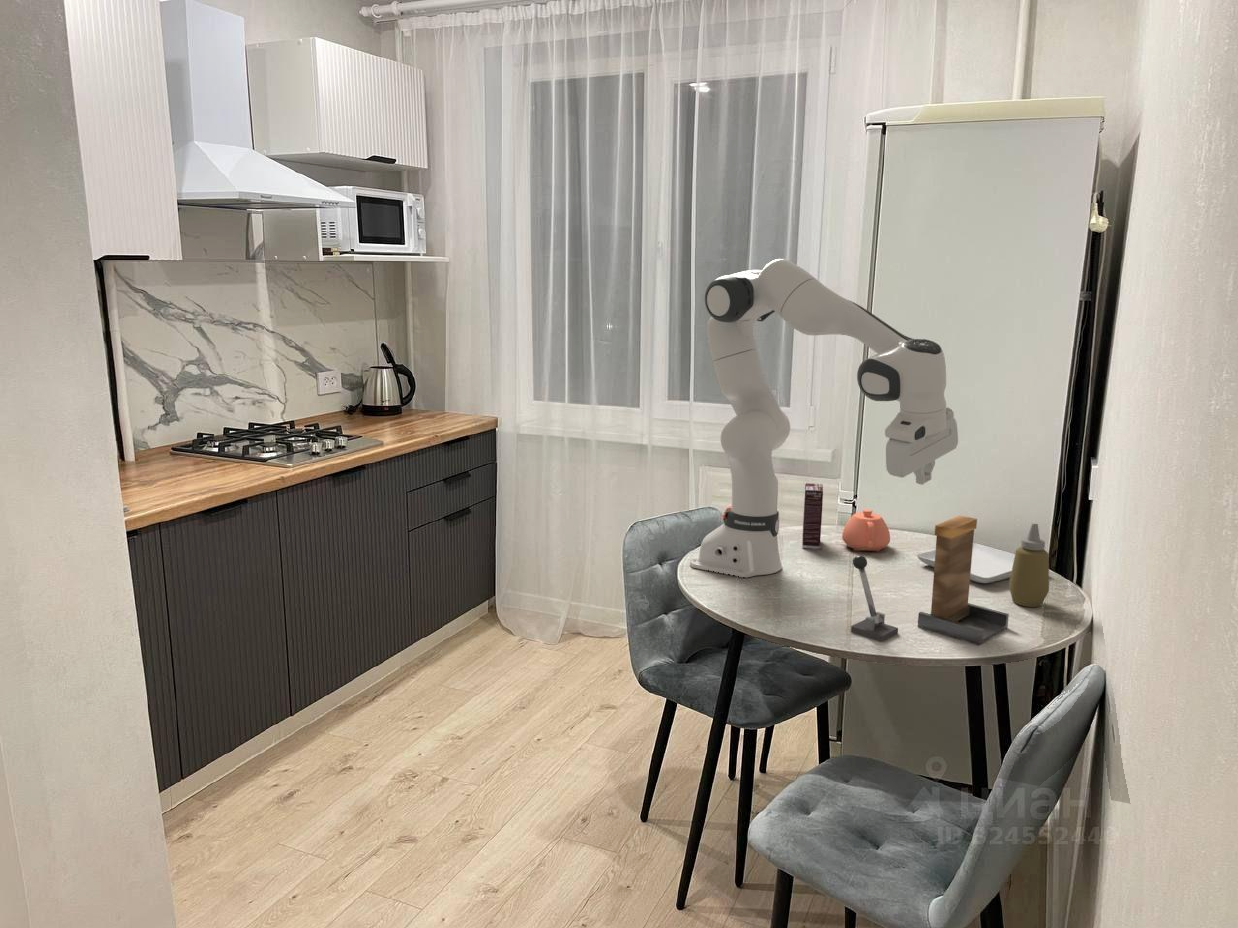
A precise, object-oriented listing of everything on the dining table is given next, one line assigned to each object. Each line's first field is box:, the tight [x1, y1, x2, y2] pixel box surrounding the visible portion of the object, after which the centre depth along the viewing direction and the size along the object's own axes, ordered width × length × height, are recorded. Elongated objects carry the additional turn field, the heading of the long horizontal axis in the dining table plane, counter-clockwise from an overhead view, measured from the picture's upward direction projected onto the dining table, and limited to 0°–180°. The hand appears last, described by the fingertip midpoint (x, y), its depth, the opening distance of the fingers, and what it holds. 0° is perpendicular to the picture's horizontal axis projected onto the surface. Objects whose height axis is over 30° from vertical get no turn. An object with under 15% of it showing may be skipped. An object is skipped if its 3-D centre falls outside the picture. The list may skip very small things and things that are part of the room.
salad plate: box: [916, 542, 1015, 584], centre depth 217 cm, size 21×21×3 cm
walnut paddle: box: [930, 515, 978, 622], centre depth 181 cm, size 4×11×21 cm, turn 133°
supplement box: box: [801, 482, 824, 550], centre depth 236 cm, size 9×5×16 cm, turn 168°
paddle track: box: [917, 602, 1010, 646], centre depth 181 cm, size 13×13×3 cm
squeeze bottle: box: [1008, 523, 1050, 608], centre depth 193 cm, size 8×8×18 cm
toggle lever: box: [852, 554, 883, 627], centre depth 178 cm, size 3×3×14 cm
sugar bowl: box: [841, 509, 891, 552], centre depth 233 cm, size 12×14×10 cm
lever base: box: [850, 611, 899, 643], centre depth 178 cm, size 7×6×4 cm
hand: (923, 481), depth 185 cm, fingers closed
